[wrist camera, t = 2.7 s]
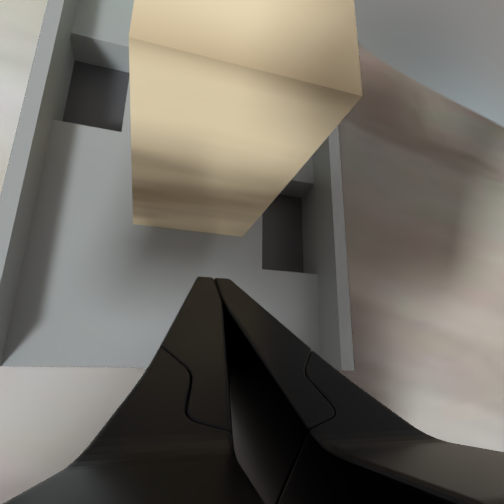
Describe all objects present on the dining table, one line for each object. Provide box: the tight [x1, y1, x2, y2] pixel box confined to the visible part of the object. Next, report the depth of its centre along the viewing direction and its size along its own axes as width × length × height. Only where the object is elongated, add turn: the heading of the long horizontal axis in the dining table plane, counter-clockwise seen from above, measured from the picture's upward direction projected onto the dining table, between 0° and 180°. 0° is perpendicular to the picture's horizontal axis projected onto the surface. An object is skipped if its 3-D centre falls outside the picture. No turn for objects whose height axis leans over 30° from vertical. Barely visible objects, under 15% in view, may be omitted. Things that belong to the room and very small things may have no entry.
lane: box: [0, 0, 354, 371], centre depth 17 cm, size 21×14×6 cm, turn 179°
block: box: [129, 0, 363, 237], centre depth 13 cm, size 7×5×10 cm
